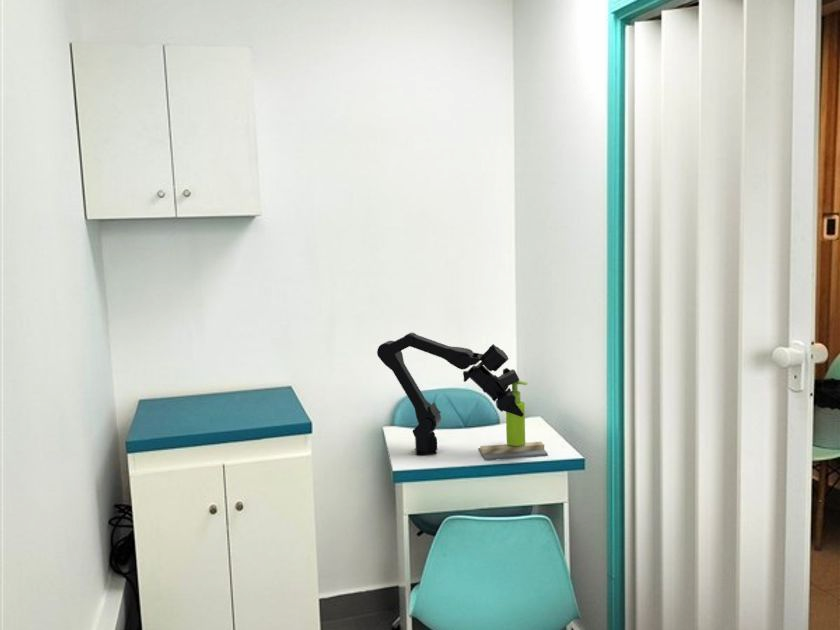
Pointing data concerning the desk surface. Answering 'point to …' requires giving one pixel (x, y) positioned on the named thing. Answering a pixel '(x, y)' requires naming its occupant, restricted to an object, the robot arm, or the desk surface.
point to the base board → (514, 455)
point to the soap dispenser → (516, 420)
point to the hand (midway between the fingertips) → (521, 413)
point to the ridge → (511, 448)
